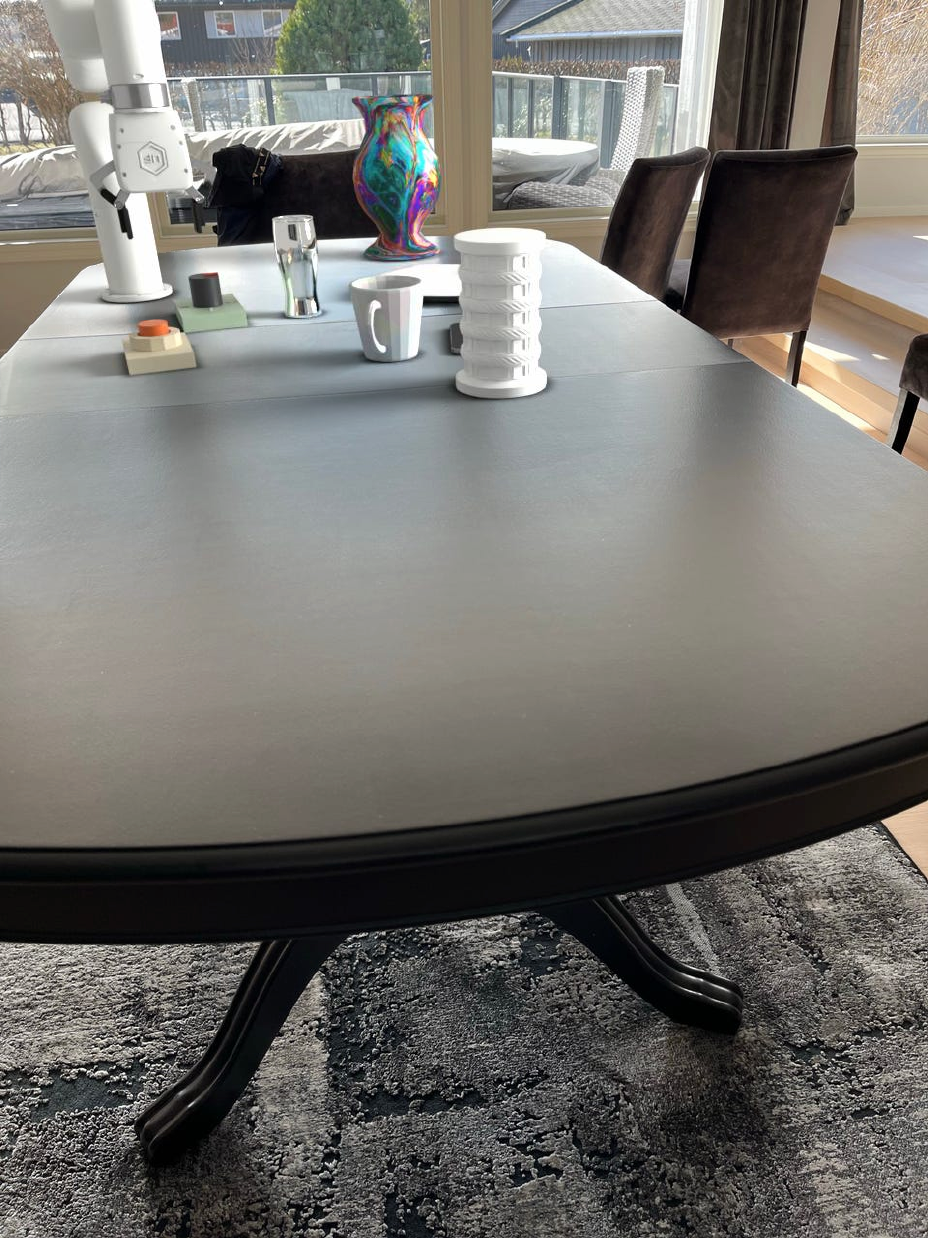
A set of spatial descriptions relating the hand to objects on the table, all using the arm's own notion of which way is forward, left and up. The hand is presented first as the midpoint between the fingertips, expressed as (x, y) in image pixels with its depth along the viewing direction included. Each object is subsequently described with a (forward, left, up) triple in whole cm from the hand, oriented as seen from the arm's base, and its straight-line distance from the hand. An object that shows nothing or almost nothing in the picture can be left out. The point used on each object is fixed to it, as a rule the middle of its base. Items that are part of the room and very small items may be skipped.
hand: (165, 235), depth 136 cm
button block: (+9, -4, -15) cm, 18 cm away
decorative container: (+41, +36, -16) cm, 56 cm away
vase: (-55, +52, -16) cm, 77 cm away
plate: (-17, +48, -16) cm, 53 cm away
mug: (+23, +26, -16) cm, 38 cm away
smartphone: (+19, +41, -15) cm, 47 cm away
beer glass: (-10, +21, -16) cm, 28 cm away
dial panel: (-13, +6, -15) cm, 21 cm away
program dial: (-13, +6, -13) cm, 19 cm away
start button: (+9, -4, -12) cm, 15 cm away
